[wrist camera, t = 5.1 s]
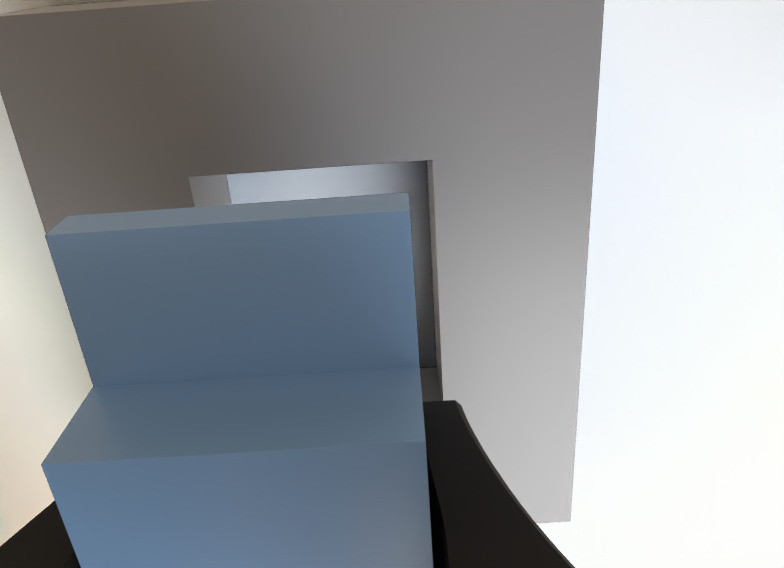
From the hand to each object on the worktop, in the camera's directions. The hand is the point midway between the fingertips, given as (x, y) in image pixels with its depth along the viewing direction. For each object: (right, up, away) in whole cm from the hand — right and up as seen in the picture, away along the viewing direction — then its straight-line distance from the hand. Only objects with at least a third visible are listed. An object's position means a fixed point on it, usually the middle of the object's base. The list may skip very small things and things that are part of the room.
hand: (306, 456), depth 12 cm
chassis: (0, +3, +7) cm, 8 cm away
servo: (0, +1, +1) cm, 2 cm away
